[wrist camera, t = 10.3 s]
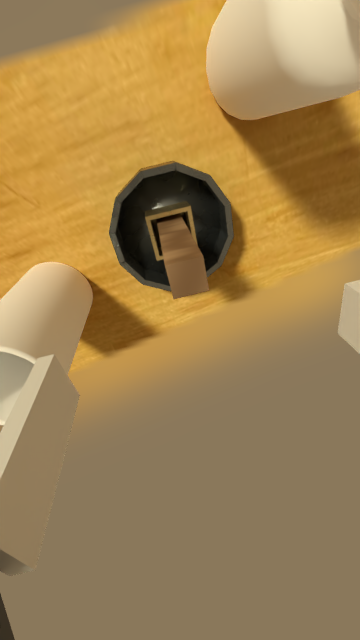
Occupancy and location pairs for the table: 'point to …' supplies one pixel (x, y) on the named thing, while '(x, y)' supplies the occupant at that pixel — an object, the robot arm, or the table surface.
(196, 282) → the square wooden stick
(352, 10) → the potion bottle
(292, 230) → the table surface
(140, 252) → the bowl
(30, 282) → the cup
